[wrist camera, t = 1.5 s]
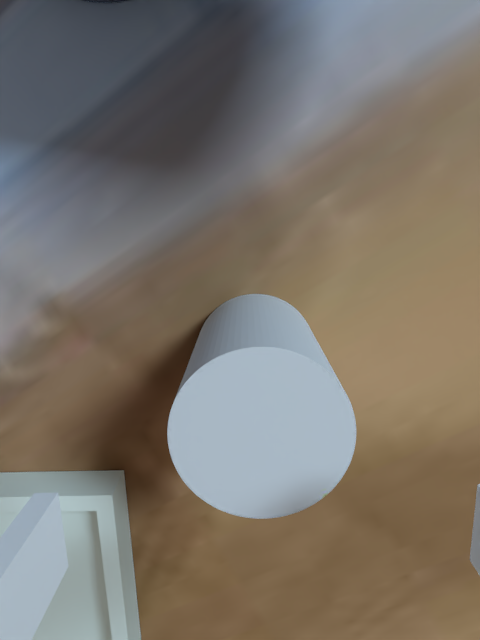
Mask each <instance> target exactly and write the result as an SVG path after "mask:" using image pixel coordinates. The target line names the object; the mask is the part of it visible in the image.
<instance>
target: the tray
mask: <svg viewBox="0 0 480 640" xmlns="http://www.w3.org/2000/svg"><path fill="white" fill-rule="evenodd" d="M34 493H58V495H59V502H60V509H61V516H62V523H63V530H64V538H65V545H66V552H67V559H68V568H67V570H66V572H65V574H64V576H63V578H62V580H61V582H60V584H59V586H58V588H57V590H56V592H55V594H54V596H53V598H52V600H51V602H50V604H49V606H48V608H47V610H46V612H45V614H44V616H43V618H42V620H41V622H40V624H39V626H38V628H37V630H36V632H35V634H34V636H33V638H32V640H141V633H140V623H139V613H138V604H137V594H136V584H135V574H134V564H133V555H132V545H131V535H130V525H129V515H128V506H127V496H126V486H125V476H124V470H111V471H58V472H6V473H0V537H1V536H2V535H3V533H4V532H5V531H6V529H7V528H8V527H9V526H10V524H11V523H12V522H13V520H14V519H15V518H16V516H17V515H18V514H19V512H20V511H21V510H22V508H23V507H24V506H25V504H26V503H27V502H28V500H29V499H30V498H31V497H32V495H33V494H34Z"/></svg>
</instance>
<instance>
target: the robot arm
mask: <svg viewBox="0 0 480 640" xmlns="http://www.w3.org/2000/svg"><path fill="white" fill-rule="evenodd" d="M85 1H91V2H119V1H125V0H85ZM470 561H471V563H472V564H473V566H474V567H475V569H476V570H477V572H478V573H479V575H480V485H478V486H477V496H476V505H475V515H474V524H473V533H472V543H471V552H470ZM67 568H68V559H67V552H66V545H65V538H64V530H63V523H62V516H61V509H60V502H59V495H58V493H34V494H33V495H32V497H31V498H30V499H29V500H28V502H27V503H26V504H25V506H24V507H23V508H22V510H21V511H20V512H19V514H18V515H17V516H16V518H15V519H14V520H13V522H12V523H11V524H10V526H9V527H8V528H7V529H6V531H5V532H4V533H3V535H2V536H1V537H0V640H32V638H33V636H34V634H35V632H36V630H37V628H38V626H39V624H40V622H41V620H42V618H43V616H44V614H45V612H46V610H47V608H48V606H49V604H50V602H51V600H52V598H53V596H54V594H55V592H56V590H57V588H58V586H59V584H60V582H61V580H62V578H63V576H64V574H65V572H66V570H67Z"/></svg>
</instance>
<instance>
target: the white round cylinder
mask: <svg viewBox="0 0 480 640" xmlns="http://www.w3.org/2000/svg"><path fill="white" fill-rule="evenodd" d="M167 437H168V446H169V451H170V455H171V458H172V461H173V463H174V466H175V468H176V470H177V472H178V474H179V475H180V477H181V478H182V480H183V481H184V482H185V484H186V485H187V486H188V487H189V488H190V489H191V490H192V491H193V492H194V493H195V494H196V495H197V496H198V497H200V498H201V499H202V500H204V501H205V502H206V503H208V504H210V505H211V506H213V507H215V508H217V509H219V510H222V511H224V512H227V513H230V514H233V515H237V516H241V517H247V518H259V519H262V518H276V517H282V516H286V515H290V514H293V513H296V512H299V511H301V510H303V509H306V508H308V507H309V506H311V505H313V504H315V503H316V502H318V501H319V500H321V499H322V498H323V497H325V496H326V495H327V494H328V493H329V492H330V491H331V490H332V489H333V488H334V487H335V486H336V485H337V484H338V482H339V481H340V480H341V478H342V477H343V475H344V474H345V472H346V470H347V468H348V466H349V464H350V462H351V459H352V456H353V453H354V448H355V442H356V422H355V416H354V412H353V409H352V405H351V403H350V401H349V398H348V396H347V394H346V393H345V391H344V389H343V387H342V385H341V383H340V382H339V380H338V378H337V376H336V374H335V373H334V371H333V369H332V367H331V365H330V364H329V362H328V360H327V358H326V356H325V355H324V353H323V351H322V349H321V347H320V346H319V344H318V342H317V340H316V338H315V336H314V335H313V333H312V331H311V329H310V327H309V326H308V324H307V322H306V321H305V319H304V318H303V316H302V315H301V314H300V313H299V312H298V311H297V310H296V309H295V308H294V307H293V306H291V305H290V304H288V303H287V302H285V301H283V300H281V299H279V298H276V297H273V296H269V295H263V294H248V295H242V296H239V297H236V298H233V299H231V300H228V301H227V302H225V303H223V304H222V305H220V306H219V307H218V308H216V309H215V310H214V311H213V312H212V313H211V314H210V316H209V317H208V318H207V320H206V321H205V323H204V325H203V327H202V329H201V331H200V334H199V337H198V339H197V342H196V344H195V347H194V350H193V352H192V355H191V358H190V360H189V363H188V366H187V368H186V371H185V374H184V376H183V379H182V381H181V384H180V387H179V389H178V392H177V395H176V397H175V400H174V403H173V405H172V408H171V411H170V415H169V420H168V428H167Z"/></svg>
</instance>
